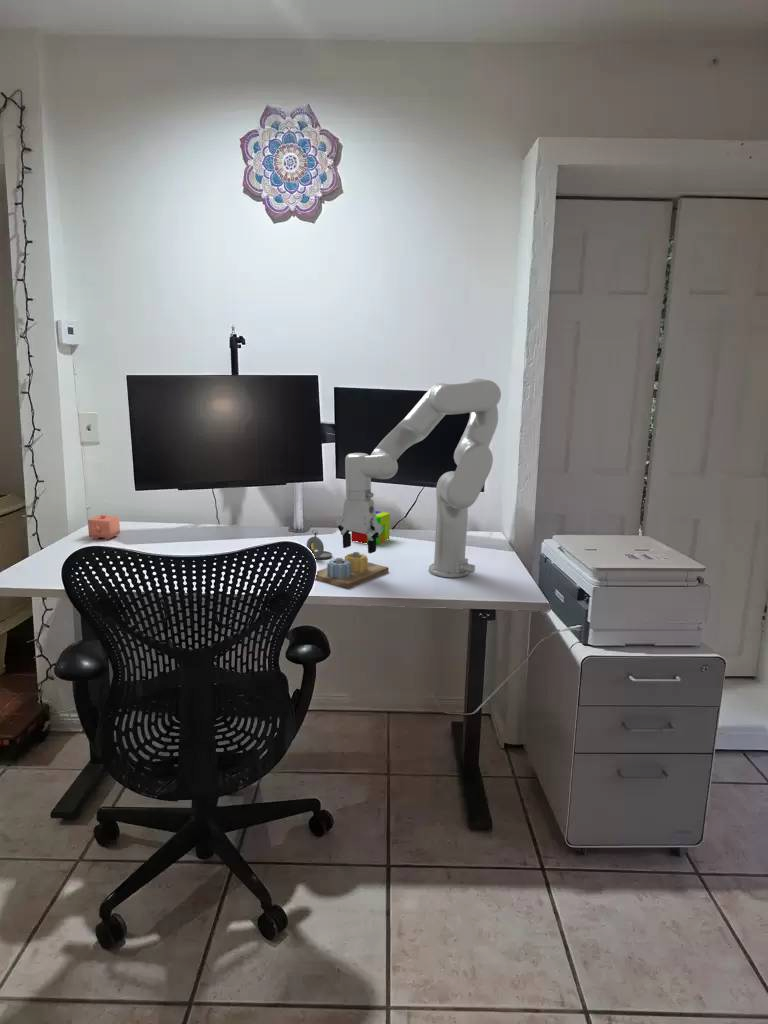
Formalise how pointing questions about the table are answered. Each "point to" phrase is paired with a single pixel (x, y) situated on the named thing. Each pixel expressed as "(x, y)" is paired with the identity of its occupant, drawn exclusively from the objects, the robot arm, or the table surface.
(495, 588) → the table surface
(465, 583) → the table surface
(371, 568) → the gear board
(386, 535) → the puzzle toy
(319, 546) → the pocket watch
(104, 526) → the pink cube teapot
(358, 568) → the gear
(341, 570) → the gear
